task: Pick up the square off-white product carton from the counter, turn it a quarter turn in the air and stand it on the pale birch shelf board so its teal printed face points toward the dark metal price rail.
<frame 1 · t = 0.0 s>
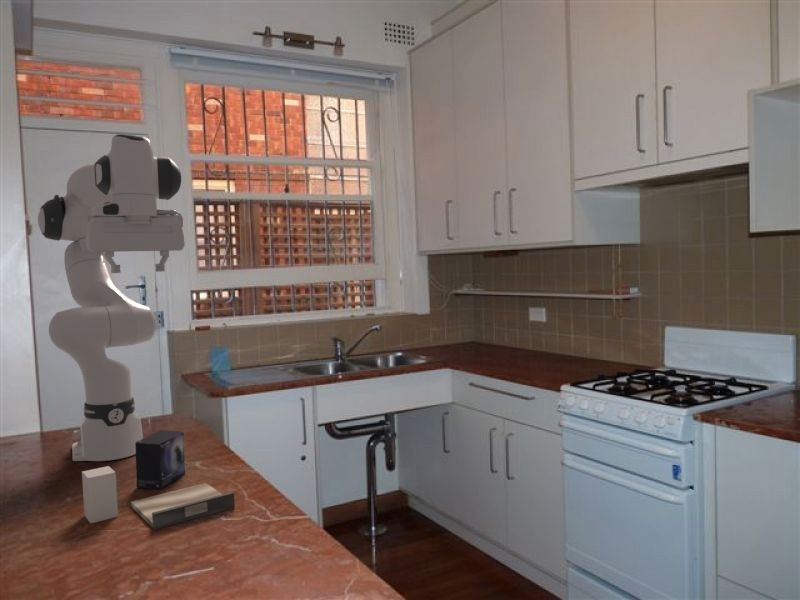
hand: (138, 272, 141), 48 cm above the countertop, fingers open, 8 cm apart
small box: (162, 481, 147), on the countertop
carton: (101, 516, 127), on the countertop
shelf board: (181, 506, 131), on the countertop
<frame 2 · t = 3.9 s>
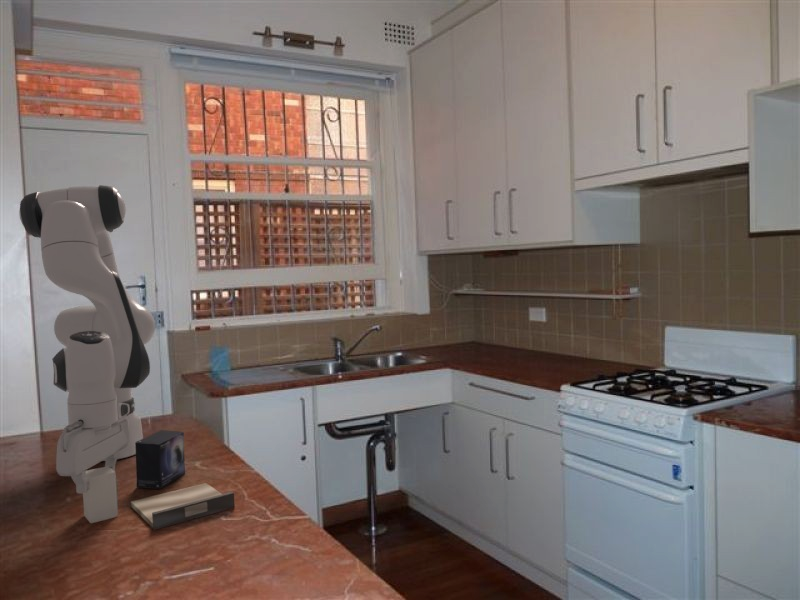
hand: (96, 483, 126), 7 cm above the countertop, fingers open, 8 cm apart
nothing on the countertop moved.
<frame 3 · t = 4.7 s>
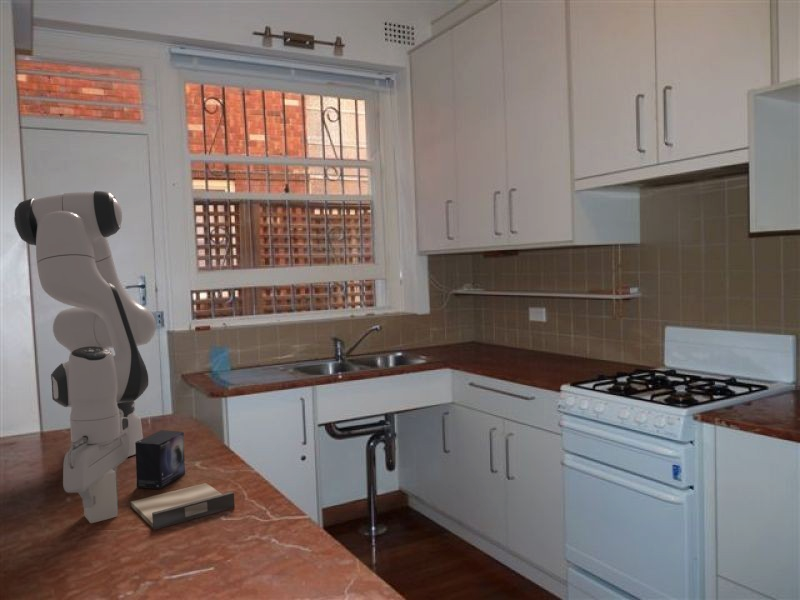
hand: (99, 498, 127), 4 cm above the countertop, fingers closed on carton, 7 cm apart
carton: (101, 515, 127), on the countertop, touching gripper
everything else where it was.
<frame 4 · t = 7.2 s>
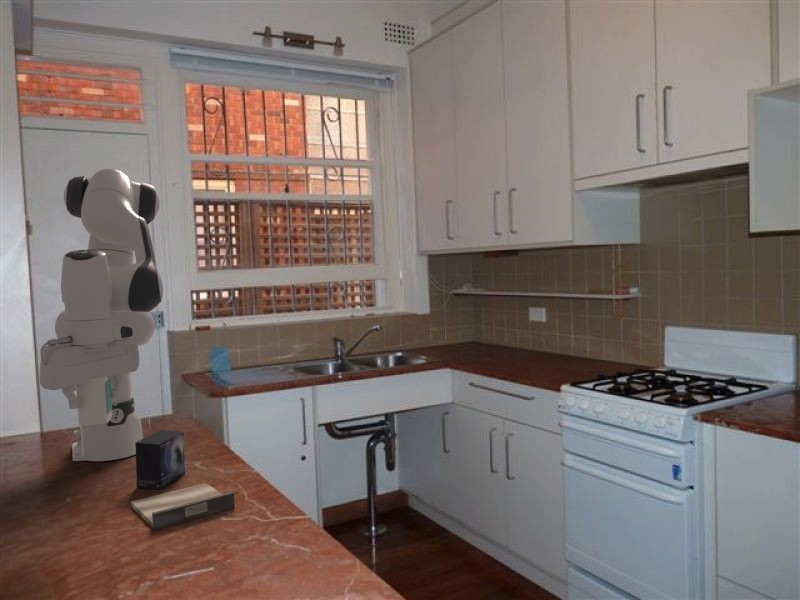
hand: (94, 402, 126), 23 cm above the countertop, fingers closed on carton, 7 cm apart
carton: (95, 421, 126), point 19 cm above the countertop, touching gripper
everything else where it was.
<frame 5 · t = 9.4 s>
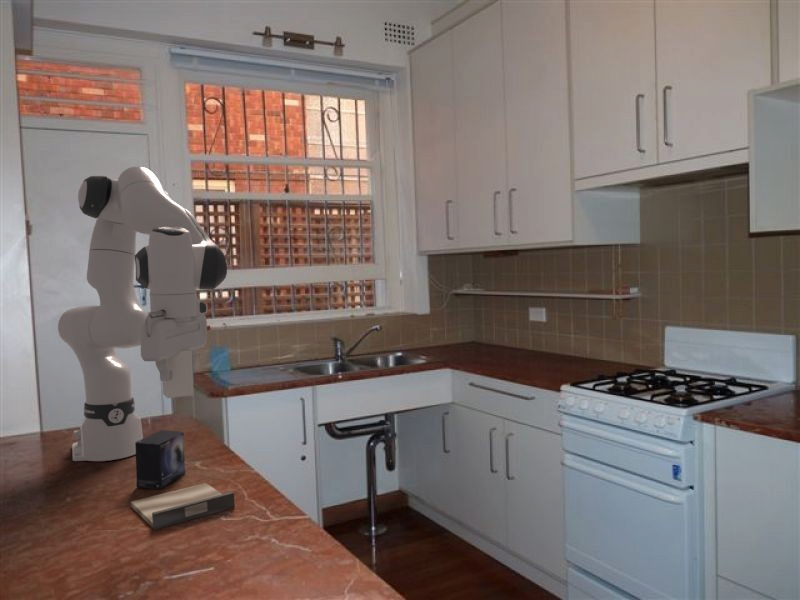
hand: (177, 376, 129), 27 cm above the countertop, fingers closed on carton, 7 cm apart
carton: (178, 394, 129), point 23 cm above the countertop, touching gripper
everything else where it was.
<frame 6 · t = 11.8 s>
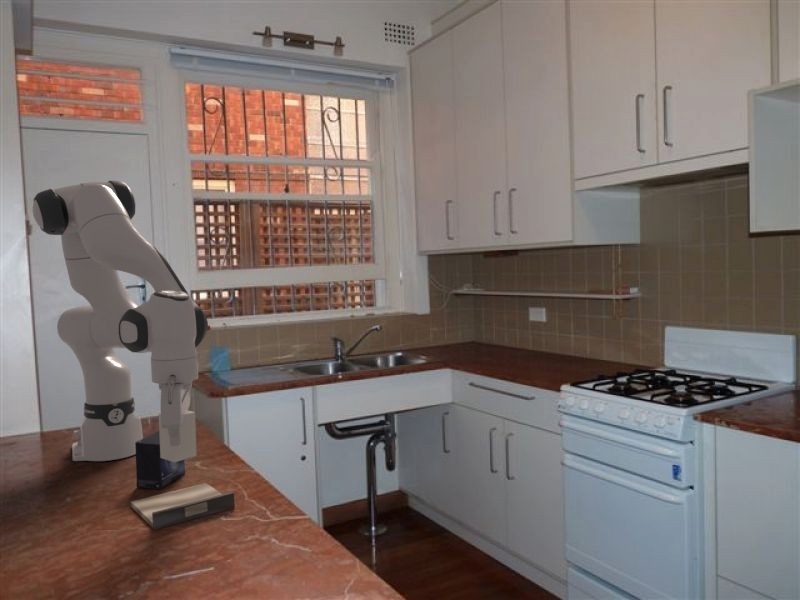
hand: (177, 439, 129), 14 cm above the countertop, fingers closed on carton, 7 cm apart
carton: (178, 456, 129), point 11 cm above the countertop, touching gripper
everything else where it was.
when the fingers open (6 cm above the countertop, at t = 14.1 s): carton drops 1 cm, resting on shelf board.
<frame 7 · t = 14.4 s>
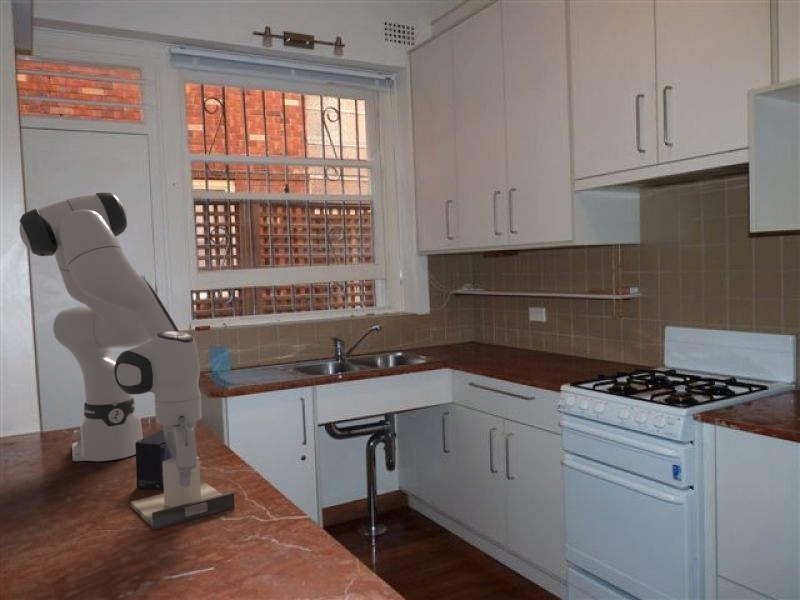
hand: (181, 478, 130), 6 cm above the countertop, fingers open, 8 cm apart
carton: (183, 502, 131), point 1 cm above the countertop, touching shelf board
everything else where it was.
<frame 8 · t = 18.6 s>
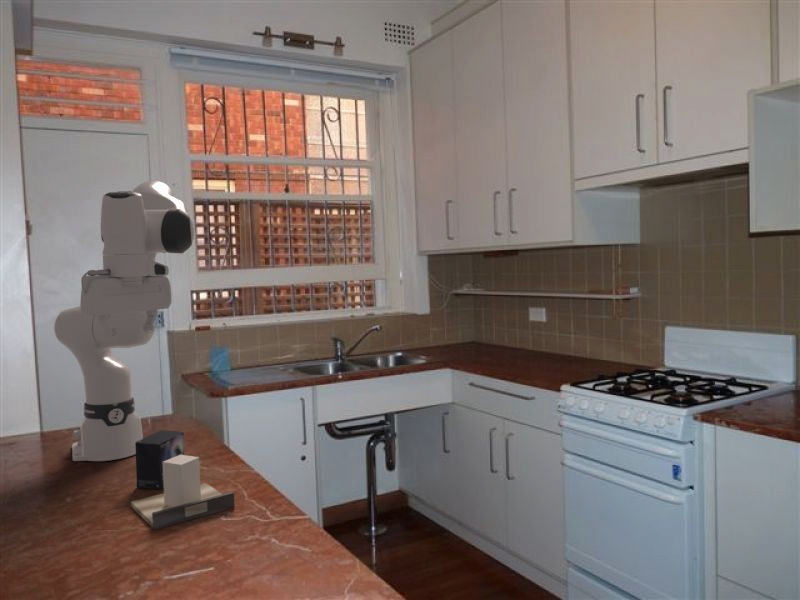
hand: (130, 334, 135), 35 cm above the countertop, fingers open, 8 cm apart
nothing on the countertop moved.
at the end: carton inside the target area (0.1 cm from its centre), point 1.0 cm above the countertop; carton tilted 0°; carton touching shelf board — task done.
